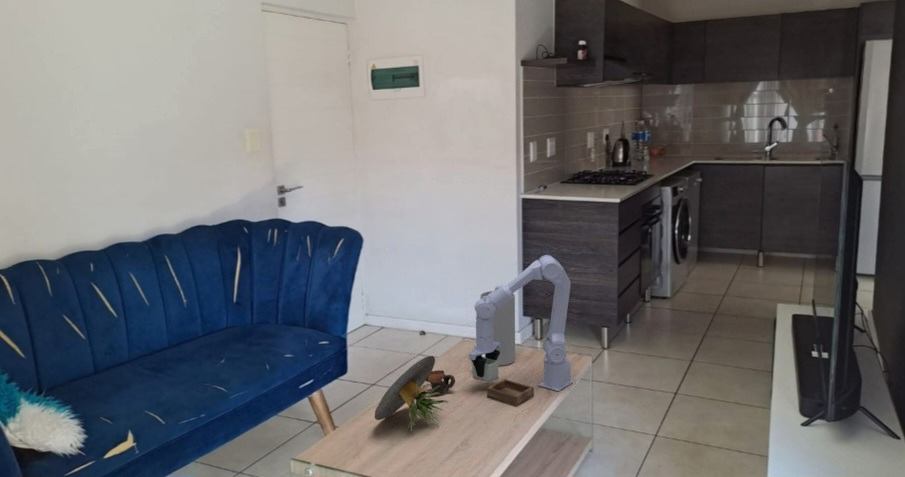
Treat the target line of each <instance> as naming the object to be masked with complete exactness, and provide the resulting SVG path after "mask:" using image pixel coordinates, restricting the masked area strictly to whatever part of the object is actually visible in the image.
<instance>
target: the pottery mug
mask: <svg viewBox="0 0 905 477" xmlns="http://www.w3.org/2000/svg"><path fill="white" fill-rule="evenodd" d="M449 381H450V383H449ZM425 382H426V383H429V384H430V387H431V388H429V389H427V390H426V392H427V391H430V390H432V389H434V388H435V387H437V386H439V385H440V387H438V388H437V389H435V390H434V391H433V392H432V393H430V394H433V393H436V392H439V394H435V395H431V396H430V397H434V396H445V395H446V392H448V391H449V390H450V389H451V388H453V387H454V386H455V383H456V378H455V377H454V375H452V374H445V371H444V370H439V369H438V370H432V371H431V373H430V375H429V376H428V378H427V379H426V381H425Z"/></svg>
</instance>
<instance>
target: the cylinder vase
mask: <svg viewBox="0 0 905 477" xmlns="http://www.w3.org/2000/svg"><path fill="white" fill-rule="evenodd" d="M492 291H493V290H490V291H486V292H483V293H481V294H480V299H483V297H484V296H485V295H486V296H487V295H489V294H490V293H491V292H492ZM492 321H493V341H494V342H500V346H501V348H499V349H498V348H497V349H496V350H498V351H500V355H499V356H498V358H497V361H498V367H499V366H500V367H501V366H508V365H511V364H512V363H514V361H515V360H516V296H515V293H513V295H512V299H511V300H509V301H508V302H507V303H505V304H504V305H503V306H502V307H500V308H499V309H498V310H495V311H494V315H493V317H492Z"/></svg>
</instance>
